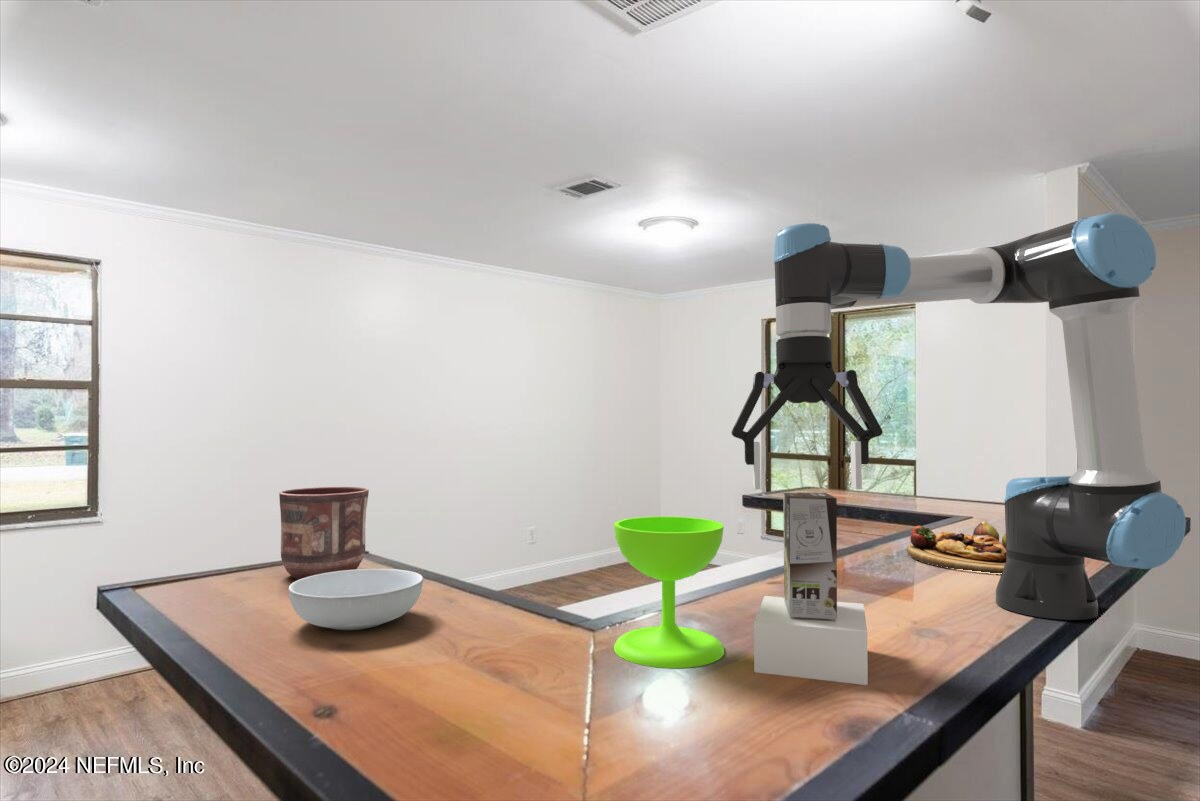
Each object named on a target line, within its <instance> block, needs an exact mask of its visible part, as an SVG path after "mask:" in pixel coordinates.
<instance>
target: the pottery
mask: <svg viewBox="0 0 1200 801" xmlns="http://www.w3.org/2000/svg"><path fill="white" fill-rule="evenodd" d="M369 491H370V490H369V488H365V487H360V486H359V487H358V486H355V487H354V486H317V487H315V486H314V487H303V488H295V489H293V488H292V489H287V490H283V491H281V492H280V491H279V497H278V498H279V508H280V510H279V511H280V533H281V534H280V558H281V562H282V564H283V567H284V569H285V570H286V573H288V574H289V575H290V576H291V577H292V578H294V580H296V581H297V580H300V579H302V578H306V577H309V576H313V575H318V574H323V573H329V572H336V571H344V570H356V569H358V568H359V567H360V565H361V563H362V561H363V559H364V557H365V552H366V518H367V516H366V515H367V506H368V500H369Z"/></svg>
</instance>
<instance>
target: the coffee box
mask: <svg viewBox="0 0 1200 801" xmlns="http://www.w3.org/2000/svg"><path fill="white" fill-rule="evenodd" d="M782 495H783V499H782V500H783V504H782V507H783V579H784V580H783V581H784V587H783V588H784V590H783V591H784V592H783V593H784V595H783V596H784V602H785V605H786V607H787V610H788V613H789V615H790V617H799V618H818V619H830V620H835V619H837V602H838V571H837V570H838V566H837V565H838V559H837V558H838V552H837V551H838V550H837V549H838V548H837V547H838V544H837V542H838V538H837V535H838V534H837V532H838V530H837V528H838V515H837V514H838V510H837V508H838V507H837V506H838V504H837V502H838V501H837V500H838V498H837V497H835V496H833V495H831V494H828V492H795V493H793V492H783V494H782Z"/></svg>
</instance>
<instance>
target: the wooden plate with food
mask: <svg viewBox="0 0 1200 801" xmlns="http://www.w3.org/2000/svg"><path fill="white" fill-rule="evenodd" d="M1001 538H1002V539H1001V542H1000V534H999V532H998V530H997V529H996V528H995V527H994V526H993V525H992V524H990V523H988V522H986V521H981V522H980V523H978V524H977V525H976V527H974V529H973V533H972V535H970V534H964V533H961V532H960V533H955V532H951V531H942V532H940V533H937V534H935V533H934V532H933V531H932V530H931V528H929V527H926V526H922V525H916V526H914V527H913V528H912V530H911V533H910V540H909V541H910V543H909V544H908V546H906V553H907V554H908V555H907V556H909V557H910V556H911V557H910V558H911V559H913V558H914V559H913V560H915V559H917V560H919V561H918V562H920V561H922V562H921V563H923V562H925V563H924V564H926V563H929V564H933V565H938V566H942V567H948V568H954V569H963V570H972V571H981V572H990V573H1002V572H1003V569H1004V566H1005V563H1006V532H1005V533H1004V534H1003V535H1002V537H1001ZM917 560H916V561H917ZM929 564H928V565H929ZM933 565H932V566H933ZM942 567H941V568H942Z"/></svg>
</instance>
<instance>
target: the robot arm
mask: <svg viewBox="0 0 1200 801" xmlns="http://www.w3.org/2000/svg"><path fill="white" fill-rule="evenodd" d="M774 239H775V240H774V250H773V251H774V257H773V264H774V290H775V334H776V336H778V337H780V338H779V339H777V341H775V349H776V350H775V353H776V357H775V360H776V362H775V364H776V369H775V372H774V373H773V374H772V373H764V372H763V371H757V372H756V373H754V376H753V383H752V389H751V391H750V393H749V395H748V397H747V399H746V401H745V403H744V405H743V408H742V409H741V411H740V413H739V416H738V418H737V420H736V422H735V424H734V425H733V428H732V430H731V436H733V437H734V438H736V439H739V440H742V441H743V443H744V444H743V445H744V463H745V464H746V465H747V466H750V465H751V466H752V488H754V490H761V445H760V442H759V441H755V439H756V438H757V437H758V436H759V435H760V433H761V432H762V431H763V430H764V429H765V427H766V426H767V425H768V424H769V423H770V422H771V420H773V418H774V417H775V415H776V414H777V413H778V411H779V410H780V409H781V408H782V407H783V406H784V405H785V404H786V403H787V402H790V403H791V404H801V403H807V404H818V403H819V402H822V403H823V404H824V405H825V406H827V407H828V409H829V410H830V411H831V412H832V413H833V414H834V415H835V416H836V418H837V419H838V420H839V421H840V422H841V423H842V424H843V425H844V426H845V427H846V428H847V429H848V431H849V432H850V433H851V434H852V435H853V436H854V437H855V439H856V440H850V470H851V471H850V473H851V474H850V478H851V480H850V481H851V482H850V483H851V487H850V488H852V489H854V490H862V489H863V488H862V486H863V485H862V484H863V483H862V480H863V478H862V475H863V474H862V465H868V464H869V462H870V461H869V460H870V458H869V449H870V448H869V442H870V440H872V439H873V438H874V439H875V438H877V437H881V436H882V435H883V428H882V426H881V425H880V422H878V420H877V418H876V416H875V415H874V412H873V410H872V408H871V407H870V405H869V402H868V401H867V399H866V398H865V396H864V394H863V391H862V390H861V388H860V386H859V384H858V383H859V382H858V375H857V371H855V370H854V369H849V370H845V371H843V372H835V371H834V369H833V347H832V343H833V342H832V339H831V338H830V337H828V335H829V334H831V333H832V310H836V309H837V310H839V309H846V308H858V307H861V308H862V307H872V306H873V307H875V306H885V305H886V306H887V305H901V304H913V303H926V302H927V303H929V302H941V301H943V302H945V301H956V300H970V301H971V302H974V303H976V304H978V305H979V304H980V305H981V304H982V305H985V304H1036V303H1038V304H1039V303H1048V309H1049V313H1051V314H1053V315H1054V316H1056V317H1057V318H1059V319H1060V320H1061V322H1062V332H1063V340H1064V348H1065V357H1066V358H1065V359H1066V366H1067V367H1066V368H1067V377H1068V384H1069V393H1070V395H1069V396H1070V402H1071V403H1070V404H1071V411H1072V412H1071V413H1072V420H1073V429H1074V438H1075V448H1076V456H1077V466H1078V468H1077V470H1076V471H1075V472H1074V473H1073V474H1072V475H1066V476H1065V475H1061V476H1035V477H1033V476H1032V477H1019V478H1018V477H1017V478H1012V479H1010V480H1009V481H1008V482H1007V483H1006V487H1005V498H1004V518H1005V525H1004V526H1005V533H1006V563H1005V566H1004V569H1003V572H1002V574H1001V575H1000V577H999V580H998V583H997V586H996V588H995V604H996V605H997V606H999V607H1000V608H1003V609H1005V610H1007V611H1010V612H1013V613H1014V612H1015V613H1017V614H1021V615H1026V616H1031V617H1036V618H1037V617H1038V618H1044V619H1049V620H1050V619H1052V620H1065V621H1081V620H1082V621H1083V620H1091V619H1095V618H1097V617H1098V616H1099V604H1098V599H1097V596H1096V594H1095V592H1094V589H1093V587H1092V584H1091V581H1090V578H1089V574H1087V571H1086V565H1085V564H1086V563H1085V562H1086V561H1085V559H1091V560H1095V561H1098V562H1104V563H1109V564H1113V565H1115V566H1117V567H1122V568H1134V569H1141V570H1143V569H1144V570H1149V569H1155V568H1158V567H1160V566H1162V565H1164V564H1165V563H1167V562H1168V561H1170V560H1171V559H1172V558H1173V557H1174V556H1175V554H1176V552H1177V551H1178V550H1179V549H1180V548H1181V546H1182V543H1183V540H1184V538H1185V534H1186V527H1187V520H1186V514H1185V511H1184V508H1183V506H1182V505H1180V504H1179V503H1178V500H1177V499H1175V498H1174V497H1173V496H1170V495H1169V494H1167V493H1163V492H1162V486H1161V485H1162V484H1161V478H1160V476H1159V475H1158V474H1156V473H1155V472H1153V470H1151V469H1149V468H1148V466H1147V464H1146V463H1147V462H1146V456H1145V455H1146V453H1145V446H1144V437H1143V435H1144V434H1143V429H1142V428H1143V427H1142V418H1141V408H1140V400H1139V391H1138V380H1137V375H1136V364H1135V356H1134V348H1133V338H1132V337H1133V336H1132V329H1131V327H1132V326H1131V320H1130V319H1131V318H1130V311H1131V309H1132V308H1133V307H1134V306H1135V304H1136V303H1138V302H1139V301H1140V300H1141V295H1140V287H1139V286H1141V285H1144V283H1145V282H1147V281H1148V280H1149V279H1150V278H1151V277H1152V275H1153V271H1155V269H1156V265H1157V251H1156V246H1155V244H1154V241H1153V238H1152V237H1151V234H1150V233H1149V232H1148V230H1147V229H1146V227H1145V226H1143V225H1142V224H1139V222H1138V221H1137V220H1136V219H1134V218H1133V217H1131V216H1129V215H1126V214H1123V213H1119V212H1108V213H1103V214H1098V215H1094V216H1088V217H1083V218H1081V219H1077V220H1075V221H1073V222H1069V223H1067V224H1063V225H1060V226H1057V227H1054V228H1051V229H1048V230H1044V231H1041V232H1037V233H1034V234H1030V235H1028V236H1025V237H1022V238H1019V239H1017V240H1013V241H1010V242H1007V243H1004V244H1000V245H993V246H984V247H978V248H976V249H974V250H973V251H971V252H970V254H969V253H968V254H966V253H965V254H951V255H950V254H949V255H935V256H918V257H916V256H915V257H909V255H908V253H907V251H906V250H904V249H903V248H902V247H899V246H896V245H895V246H894V245H888V244H887V245H886V244H883V243H879V244H872V243H871V244H870V243H869V244H867V243H844V242H843V243H841V242H836V241H835V242H834V241H833V242H832V237H831V234H830V230H829V227H827V226H826V225H823V224H820V223H814V222H813V223H810V222H809V223H798V224H794V225H789V226H786V227H784V228H782V229H780V230H779V231H778V232H777V234H776V235H775V238H774ZM836 381H837V382H838V383H839V384H840V386H842V387H844V388H845V390H846V393H847V394H848V397H849V399H850V400H851V402H852V403H853V405H854V407H855V409H856V411H857V413H858V415H859V417H860V418H861V421H862V422H863V424H864V426H865V427H866V429H864V427H862V425H860V423H859V422H858V421H857V420H856V419H855V417H854V416H852V414H851V413H850V412H849V411H848V410H847V409H846V408H845V407H844V406H843V405H842V403H841V402H840V401H839V400H838V399H837V397H836V396H835V395H834V394H833V393H832V392H831V388H832V387H833V385H835V382H836ZM771 382H772V383H773V384H774V385H775V386H776V387H777V389H778V390H779V391H780V392H779V393H778V394H777V396H776V397H775V398H774V399H773V400H772V402H771V403H770V404H769V405H768V406H767V408H766V409H765V410H764V412H763V413H761V415H760V416H759V418H758V419H757V420H756V421H755V422H754V423H753V424H752V425H751V427H750V428H749V429H748V430H747V431H745V430H744V429H745V427H746V426H747V423H748V421H749V420H750V417H751V416H752V413H753V411H754V408H755V407H756V405H757V403H758V401H759V399H760V396H761V395H762V393H763V390H764V389H766V388H768V387H769V385H770V383H771Z"/></svg>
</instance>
